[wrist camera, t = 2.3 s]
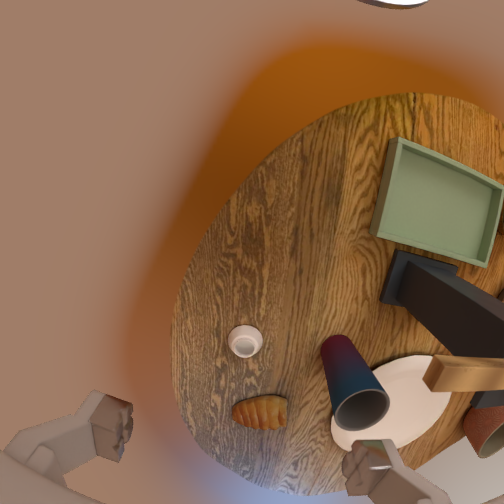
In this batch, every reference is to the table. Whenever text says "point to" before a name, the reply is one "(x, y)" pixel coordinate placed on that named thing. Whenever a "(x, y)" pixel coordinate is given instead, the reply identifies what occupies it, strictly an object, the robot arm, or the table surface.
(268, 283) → the table surface
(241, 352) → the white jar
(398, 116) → the table surface
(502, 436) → the planter
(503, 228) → the brass bell weight
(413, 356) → the plate
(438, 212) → the tray
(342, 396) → the cup
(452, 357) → the brush
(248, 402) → the pastry
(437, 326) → the stand
